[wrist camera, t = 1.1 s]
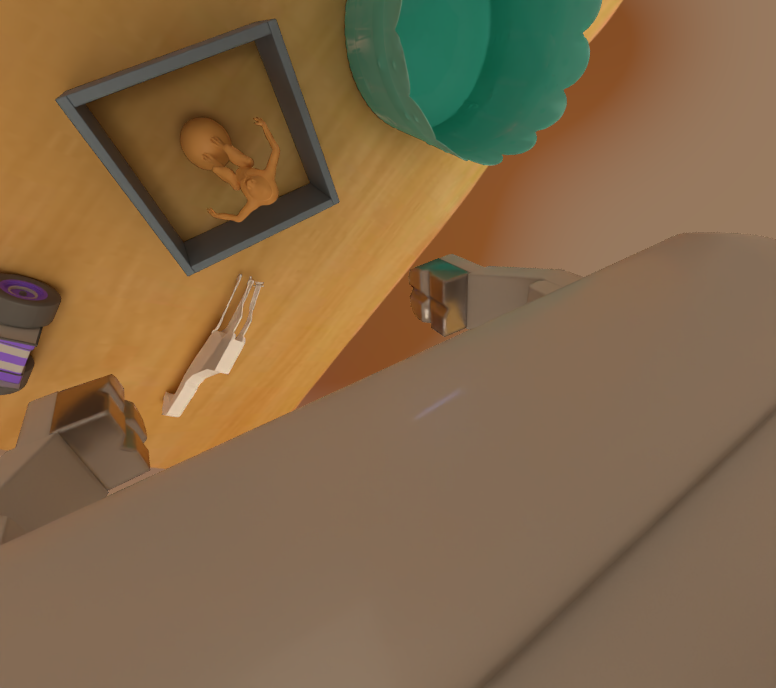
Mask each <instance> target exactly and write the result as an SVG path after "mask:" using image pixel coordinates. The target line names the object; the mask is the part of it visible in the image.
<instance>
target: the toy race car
mask: <svg viewBox="0 0 776 688" xmlns="http://www.w3.org/2000/svg"><path fill="white" fill-rule="evenodd" d="M60 302H61V296H60V294H59V293H58V292H57V291H56V290H55V289H53V288H52V287H50V286H49V285H47V284H45V283H43V282H40V281H38V280H35V279H32V278H29V277H25V276H20V275H15V274H6V273H0V395H6V394H11V393H14V392H17V391H19V390H21V389H22V388H23V387H24V386H25V385H26V383H27V381H28V379H29V376H30V374H31V372H32V369H33V367H34V360H33V358H32V357H31V356H30V352H31V351H32V350H34V347H37V345H38V342H39V338H40V335H41V331H42V328H43V327H44V326H47V325H49V324H50V323H51V322H52V321H53V319H54V316H55V314H56V312H57V309H58V307H59V305H60Z"/></svg>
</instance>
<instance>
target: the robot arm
mask: <svg viewBox="0 0 776 688" xmlns="http://www.w3.org/2000/svg"><path fill="white" fill-rule="evenodd" d="M409 284H410V285H411V286H412V287H413V290H412V293H411V295H410V302H411V307H412V310H413V312H414V314H415V315H416V317H417V318H418V319H419V320H421V321H422V322H427V323H431V328H433V329H434V330H435V331H437V332H438V333H440V334H441V335H443V336H444V337H445V336H448V335H450V334H453V333H455V332H458V331H460V330H462V329H464V328H467V329H470V330H468V331H466V332H464V333H462V334H459V335H457V336H455V337H453V338H451V339H449V340H446V341H444V342H442V343H440V344H438V345H435V346H433V347H431V348H429V349H427V350H425V351H423V352H420V353H418V354H416V355H414V356H412V357H409V358H407V359H405V360H403V361H401V362H398V363H396V364H394V365H392V366H390V367H388V368H385V369H383V370H381V371H379V372H377V373H374V374H372V375H370V376H368V377H366V378H364V379H361V380H359V381H357V382H355V383H353V384H351V385H349V386H346V387H344V388H342V389H340V390H337V391H335V392H333V393H331V394H329V395H327V396H324V397H322V398H320V399H318V400H316V401H314V402H311V403H309V404H307V405H305V406H303V407H300V408H298V409H296V410H294V411H292V412H289V413H287V414H285V415H283V416H281V417H279V418H276V419H274V420H272V421H270V422H268V423H266V424H263V425H261V426H259V427H257V428H255V429H252V430H250V431H248V432H246V433H244V434H242V435H239V436H237V437H235V438H233V439H231V440H228V441H226V442H224V443H222V444H220V445H218V446H215V447H213V448H211V449H209V450H207V451H205V452H202V453H200V454H198V455H196V456H194V457H191V458H189V459H187V460H185V461H183V462H181V463H178V464H176V465H174V466H172V467H170V468H167V469H165V470H163V471H161V472H159V473H157V474H154V475H152V476H150V477H148V478H146V479H144V480H141V481H139V482H137V483H135V484H133V485H131V486H128V487H126V488H124V489H122V490H120V491H117V492H116V493H113V494H111V495H109V496H107V494H108V493H109V492H108V490H110V489H112V488H114V487H116V486H118V485H121V484H123V483H125V482H127V481H129V480H131V479H133V478H135V477H137V476H140V475H142V474H144V473H145V472H148V471H150V462H149V451H148V449H147V448H146V446H145V445H144V442H145V441H146V439H147V433H146V428H145V425H144V422H143V419H142V417H141V415H140V413H139V411H138V410H137V408H136V406H135V405H134V403H132V402H130V401H127V400H124V388H123V387H122V385H121V384H120V382H119V381H118V379H117V378H116V377H115V376H114V375H112V374H110V375H107V376H104V377H101V378H98V379H95V380H92V381H89V382H86V383H83V384H80V385H77V386H74V387H71V388H68V389H65V390H62V391H60V392H58V391H57V392H55V393H52V394H50V395H47V396H44V397H42V398H39V399H36V400H34V401H31V402H29V404H28V407H27V410H26V414H25V417H24V420H23V424H22V427H21V430H20V434H19V437H18V440H17V444H16V447H15V448H14V449H12V450H9V451H7V452H5V453H4V454H3V455H2V456H1V457H0V688H776V239H773V238H768V237H764V236H757V235H751V234H738V233H720V232H719V233H718V232H716V233H715V232H707V233H704V232H698V233H697V232H695V233H682V234H678V235H675V236H673V237H670V238H668V239H666V240H664V241H662V242H660V243H658V244H655V245H653V246H651V247H649V248H647V249H645V250H642V251H640V252H638V253H636V254H634V255H632V256H630V257H627V258H625V259H623V260H621V261H618V262H616V263H614V264H612V265H610V266H607V267H605V268H603V269H601V270H599V271H597V272H595V273H592V274H591V275H588V276H586V277H582V276H579V275H576V274H573V273H571V272H568V271H565V270H559V269H538V268H537V269H536V268H517V267H496V266H488V267H482V266H480V265H478V264H475V263H473V262H470V261H468V260H466V259H463V258H461V257H458V256H456V255H453V254H450V255H446V256H444V257H441V258H438V259H435V260H433V261H430V262H428V263H425V264H423V265H420V266H417V267H415V268H413V269H411V270H410V272H409ZM106 496H107V497H106Z"/></svg>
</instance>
